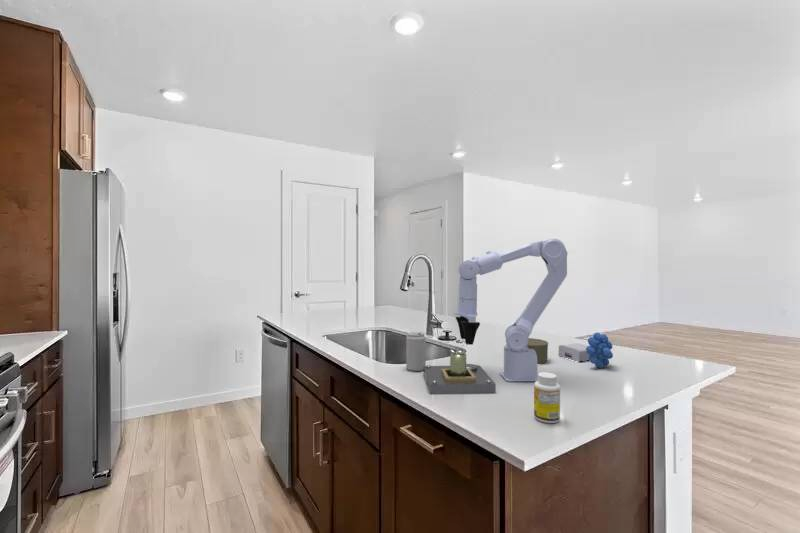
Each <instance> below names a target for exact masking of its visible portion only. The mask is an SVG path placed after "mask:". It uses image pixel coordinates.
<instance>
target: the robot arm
mask: <svg viewBox="0 0 800 533" xmlns="http://www.w3.org/2000/svg"><path fill="white" fill-rule="evenodd" d="M529 256H531V257H536V258H538V257H540V258H541V259H542V260H543V262H544V263H545V267H546V270H547V274H546V275H545V278H544V279H543V280H542V282H541V284H540V285H539V286H538V288H537V289H536V291H535V293H534V294H533V295H532V297H531V299H530V300H529V302H528V303H527V305H526V307H525V308H524V310H523V311H522V313H521V314H520V315H519V316H518V318H517V319H516V320H515V321H514V323H512V324H511V325H509V326H508V327H507V328H506V329H505V333H504V335H505V342H506V344H505V345H504V346H503V371H499V375H500V376H501V377H502V378H503V379H504V380H505V382H536V381H538V365H537V354H536V352H535V350H534V349H529V348H528V347H527V344H528V338H530V336H531V334H532V331H533V329H534V326H535V325H536V323H537V321H538V320H539V318H540V317H541V315H542V314H543V313H544V311H545V310H546V308H547V307H548V304H549V303H550V302H551V301H552V299H553V297H554V296H555V294H556V293H557V291H558V290H559V289H560V286H561V285H562V283H564V281H565V279H566V278H567V276H568V251H567V249H566V246H565V244H564V243H563V242H562V241H561V239H558V238H549V239H547V240H539V241H533V242H530V243H527V244H524V245H521V246H518V247H515V248H513V249H510V250H508V251H504V252H501V253H498V252H497V251H491V250H489V251H486V252H485V254H483V255H480V256H477V257H475V256H472V257H471V260H470V259H467V260H465V261H462V262H461V263H460V264H459V266H458V274H459V280H458V282H459V284H458V307H457V308H458V309H457V310H458V311H454V315H455V316H456V317H455V320H456V322H457V325H458V329H459V334H460V335H459V336H460V339H461V340H464V341H465V345H471V346H472V345H474V342H475V338H476V334H477V331H478V329H479V327H480V325H481V323H480V322H479V321H476V320H477V318H476V317H477V316H478V311H477V309H478V284H477V280H478V279H477V278H478V277H477V275H480V276H482V275H486V274H489V273H493V272H495V271H497V270H501V268H502V267H503V265H504V264H505V263H509V262H512V261H515V260H518V259H522V258H525V257H529Z"/></svg>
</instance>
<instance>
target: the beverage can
mask: <svg viewBox="0 0 800 533" xmlns="http://www.w3.org/2000/svg"><path fill="white" fill-rule="evenodd" d="M405 339H406V340H405V341H406V342H405V344H406V345H405V348H406V352H405V355H406V358H405V360H406V362H405V363H406V364H405V367H406V369H407V370H409V372H423V366H427V364H426V363H427V362H426V360H427V359H426V358H427V357H426V356H427V355H426V354H427V352H426V346H427V345H426V344H427V343H426V342H427V340H426V339H427V337H426V335H425V333H424V332H420V331H411V332H408V333H407V335H406V338H405Z"/></svg>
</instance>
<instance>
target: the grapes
mask: <svg viewBox="0 0 800 533" xmlns="http://www.w3.org/2000/svg"><path fill="white" fill-rule="evenodd" d="M587 343H588V346H587V348H586V352H587V353H588V354H589V355H590V356H589V361H588V362H590V363H591V364H594V366H595V367H596V368H598V369H601V368H603V366H604V367H607V366H609V365H610V360H611V359H612V358H613V357H614V354H613V352H612V349H613V343H612V342H611V341H609V337H608V336H607V334H605V333H600V332H594V333H593V334H592V336H590V337H588V339H587Z"/></svg>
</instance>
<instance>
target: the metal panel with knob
mask: <svg viewBox="0 0 800 533" xmlns="http://www.w3.org/2000/svg"><path fill="white" fill-rule="evenodd" d="M422 372H423V373H422V374H423V376H424V380H425V384H426V387H427V390H428V393H429V395H437V394H438V395H443V394H446V395H447V394H448V395H449V394H452V393H453V394H454V393H455V394H454V395H459V393H462V394H463V393H465V394H496V389H497V388H496V387H497V386H496V385H497V384H496V383H495V382H494V381H493V379H492V377H491V376H489V374H488V373H487V372H486V371H485V370H484V369H483V368H482V366H481V365H478V364H474V363H466V376H462V377H450V365H430V364H426V366H423V371H422ZM456 393H458V394H456ZM453 394H452V395H453Z"/></svg>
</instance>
